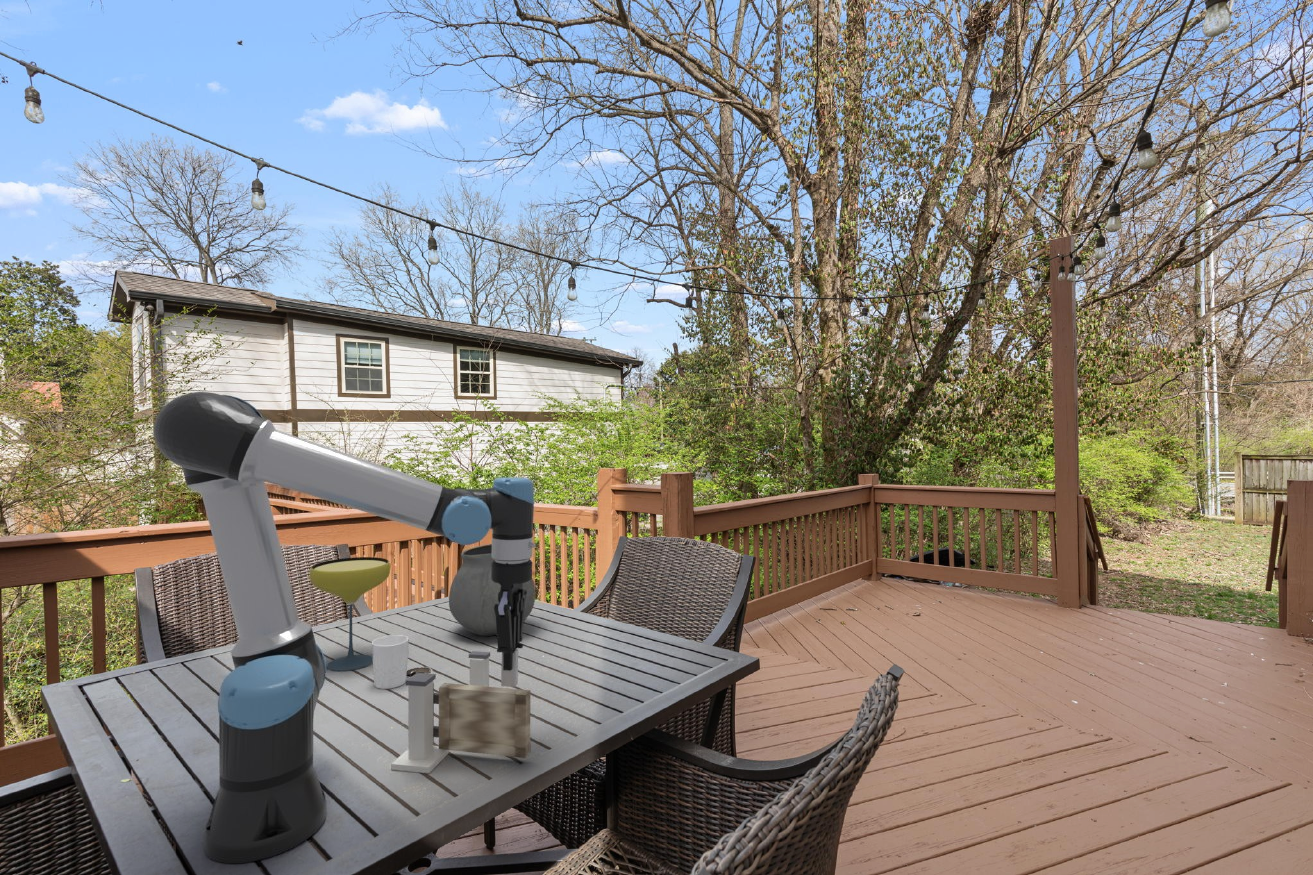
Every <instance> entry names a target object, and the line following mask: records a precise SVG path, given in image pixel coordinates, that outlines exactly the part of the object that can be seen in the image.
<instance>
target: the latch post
mask: <svg viewBox="0 0 1313 875" xmlns="http://www.w3.org/2000/svg"><path fill="white" fill-rule="evenodd" d="M490 657H491V651H479V650H478V651H476V650H475V651H474V650H472V651H471V652H470V653H469V654H468V659H469V685H474V686H486V687H490Z"/></svg>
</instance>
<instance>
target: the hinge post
mask: <svg viewBox="0 0 1313 875" xmlns="http://www.w3.org/2000/svg"><path fill="white" fill-rule="evenodd" d="M434 680H436V673H424V672H416V673H415V674H413V675H412V676H410V677H409V678H408V679H407V678H406V682H405V686H408V690H407V692H408V694H407V695H408V696H407V697H408V707H407V708H408V710H407V712H408V715H407V716H408V717H407V718H408V725H407V726H408V727H407V729H408V730H407V731H408V732H407V735H408V737H407V739H408V745H407V746H408V748H407V749H406V750H405V751H404V752H402V754H401V755H399V756H398V757H397V758H396V759H395V760H394V761H393V762H392V763H391V765H390V767H391V768H390V770H392V771H401V772H409V773H410V772H411V773H422V774H430V773H431V772H432V771H433V770H434V769H435V768H436V767H437V765H439V764H440V763H441V762H442V761H443V759H445V758H446V757H447V755H449V753H450V750H445V749H439V745H433V683H434Z"/></svg>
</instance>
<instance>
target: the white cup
mask: <svg viewBox="0 0 1313 875" xmlns="http://www.w3.org/2000/svg"><path fill="white" fill-rule="evenodd" d="M409 639H410V638H409V636H407V635H402V634H391V635H385V636H379V637H377V638H375V639H373V640H372V641H371V652H372V655H371V656H372V659H373V663H372V667H373V668H372V671H373V685H374V687H375V688H376V689H380V690H381V689H383V690H389V689H395V688H398V687H401V686H403V685H404V684H406V680H407V674H408V672H407V671H408V664H409V662H408V661H409Z"/></svg>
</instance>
